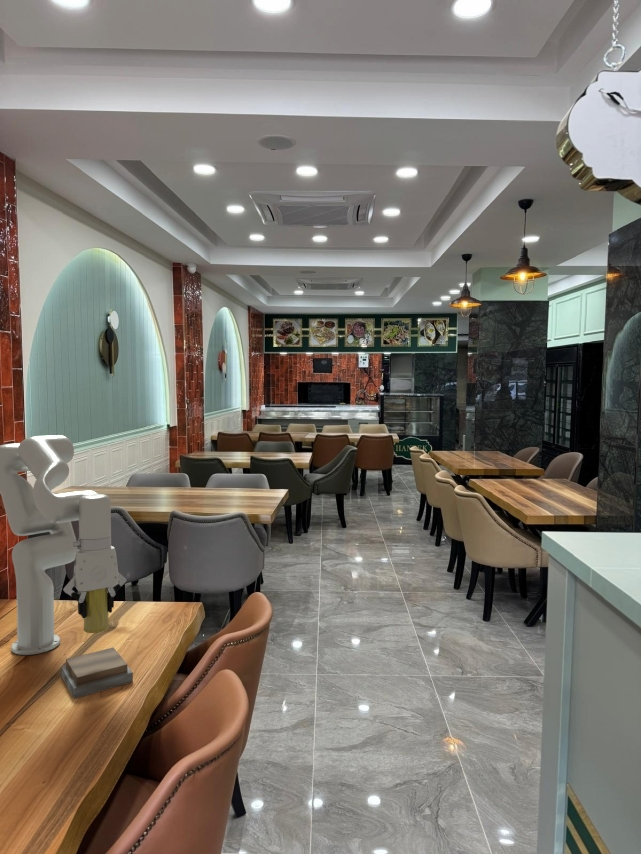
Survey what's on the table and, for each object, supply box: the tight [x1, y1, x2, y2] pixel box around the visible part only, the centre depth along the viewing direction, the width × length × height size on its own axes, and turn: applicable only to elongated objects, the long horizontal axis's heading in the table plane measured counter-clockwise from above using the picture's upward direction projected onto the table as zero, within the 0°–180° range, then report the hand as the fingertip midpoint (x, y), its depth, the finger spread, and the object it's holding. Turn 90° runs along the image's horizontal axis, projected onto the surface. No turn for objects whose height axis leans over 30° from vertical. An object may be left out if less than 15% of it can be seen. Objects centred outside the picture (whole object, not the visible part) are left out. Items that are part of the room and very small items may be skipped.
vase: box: [82, 588, 110, 634], centre depth 144 cm, size 6×6×14 cm
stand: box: [60, 647, 134, 700], centre depth 145 cm, size 14×14×4 cm
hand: (96, 613), depth 144 cm, fingers closed on vase, 5 cm apart
